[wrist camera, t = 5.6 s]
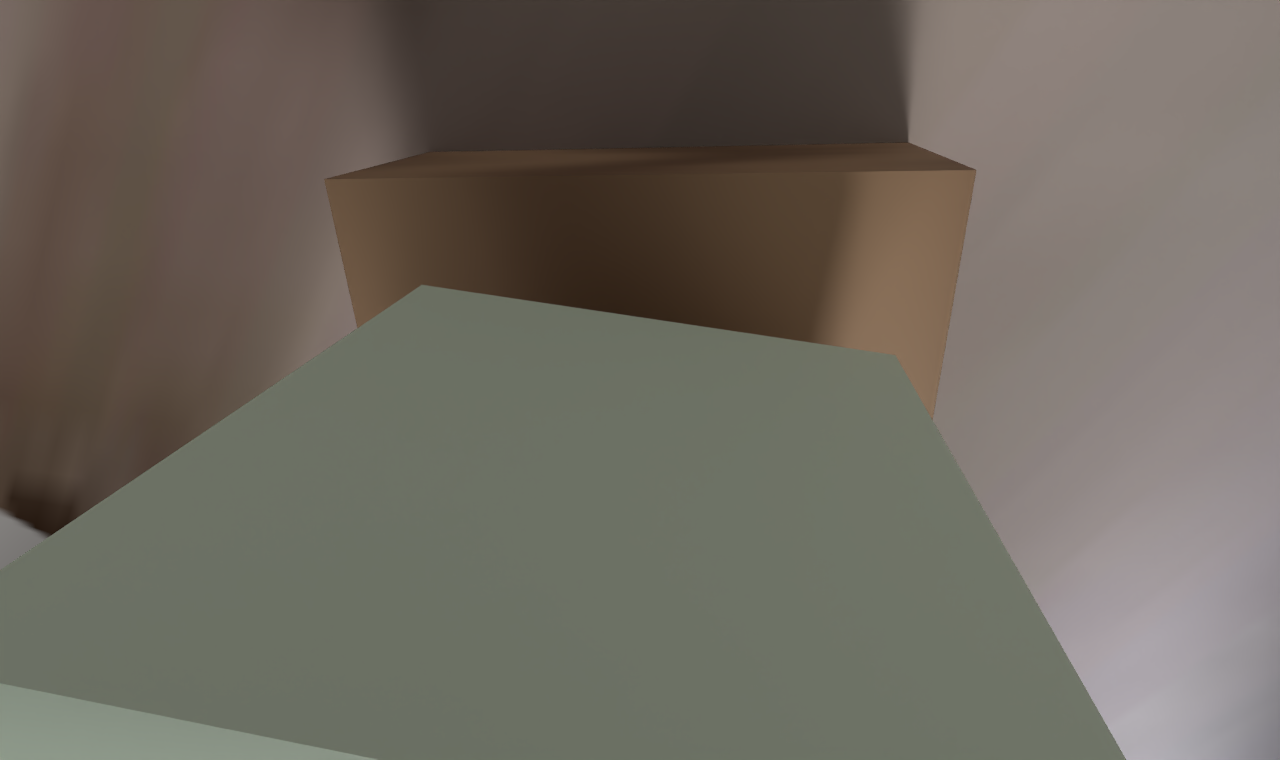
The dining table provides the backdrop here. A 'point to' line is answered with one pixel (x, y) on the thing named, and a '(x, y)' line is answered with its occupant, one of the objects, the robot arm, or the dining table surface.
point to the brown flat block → (678, 238)
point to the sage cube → (544, 565)
